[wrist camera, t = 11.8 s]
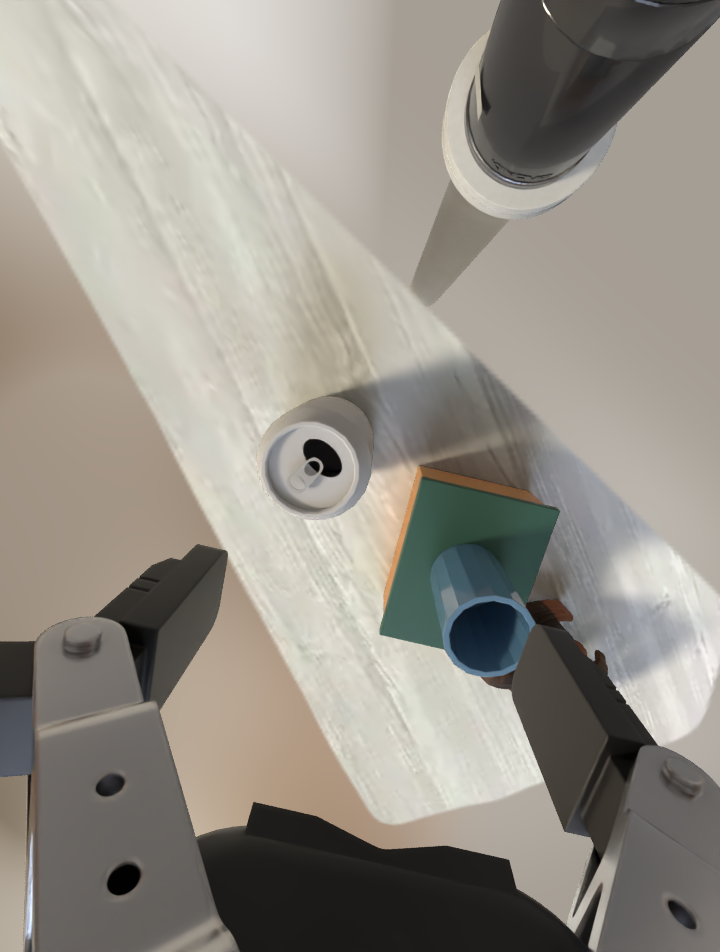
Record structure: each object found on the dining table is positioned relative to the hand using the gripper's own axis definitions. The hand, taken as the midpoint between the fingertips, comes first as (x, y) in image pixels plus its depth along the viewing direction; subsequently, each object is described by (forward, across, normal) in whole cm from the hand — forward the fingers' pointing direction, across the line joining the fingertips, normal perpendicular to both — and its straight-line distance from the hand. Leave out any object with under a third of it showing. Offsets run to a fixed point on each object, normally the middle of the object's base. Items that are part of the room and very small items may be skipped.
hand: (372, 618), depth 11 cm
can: (+28, +4, +1) cm, 29 cm away
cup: (+22, -9, +8) cm, 25 cm away
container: (+28, -9, +8) cm, 31 cm away
